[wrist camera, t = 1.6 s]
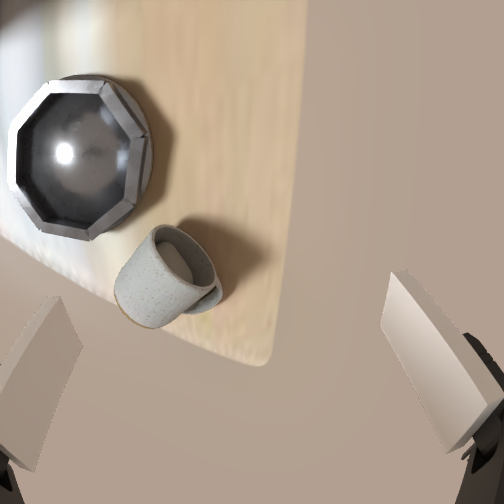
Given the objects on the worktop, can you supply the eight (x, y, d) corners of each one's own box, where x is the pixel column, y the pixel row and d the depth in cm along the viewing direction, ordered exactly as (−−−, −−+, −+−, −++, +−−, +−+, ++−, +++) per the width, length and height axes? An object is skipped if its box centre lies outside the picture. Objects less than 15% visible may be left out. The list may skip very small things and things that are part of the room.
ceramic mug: (120, 265, 31) (98, 309, 25) (162, 212, 29) (144, 248, 22) (194, 317, 36) (189, 365, 29) (240, 273, 33) (245, 320, 26)
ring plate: (18, 220, 28) (7, 229, 26) (25, 77, 21) (11, 77, 18) (143, 245, 31) (137, 256, 28) (168, 80, 23) (163, 78, 21)
